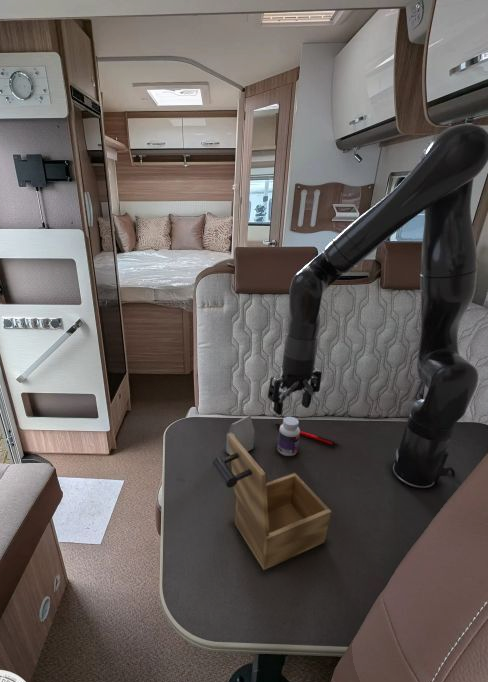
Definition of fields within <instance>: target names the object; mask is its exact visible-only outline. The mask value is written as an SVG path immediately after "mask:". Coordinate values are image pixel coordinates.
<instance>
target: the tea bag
mask: <svg viewBox="0 0 488 682" xmlns="http://www.w3.org/2000/svg"><path fill="white" fill-rule="evenodd" d="M229 433H232V434H233V435H234V437H235V438H236V439H237V440H238V441H239V442H240V444H241V445H242V446H243V447H244V448H245V450H246V451H247V452H248V453H249V452H250V451H251V450H253V449H254V444H255V443H254V442H255V428H254V424H253V420H252V416H251V415H250V414H249V415H247V416H245V417H243V418H241V419H239V420H237V421H235V422H233V423H231V424H230V428H229V429H228V431H227V433H226V445H225V453H226V454H228V455H230V449H229V441H228V434H229Z"/></svg>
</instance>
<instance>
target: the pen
mask: <svg viewBox="0 0 488 682" xmlns="http://www.w3.org/2000/svg"><path fill="white" fill-rule="evenodd" d="M274 425H275V426H277V427H279V428H280V426H281V425H282V423H274ZM300 435H302V436H305V437H307V438H310V439H314V440H317V441H319V442H323V443H325V444H328V445H332V446H337V447H339V443H335V441H334V440H332V439H329V438H325V437H322V436H319V435H314V434H311V433H308V432H305V431H303V430H300Z"/></svg>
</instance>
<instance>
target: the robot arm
mask: <svg viewBox="0 0 488 682" xmlns="http://www.w3.org/2000/svg"><path fill="white" fill-rule="evenodd" d="M487 164H488V130H486V129H485V128H483V126H480V125H478V124H474V123H461V124H460V123H459V124H456V125H452V126H449V127H447V128H444V129H443V130H441V131H439V132H438V133H436V134H435V135H434V136H433V137H432V138H430V139H429V140H428V142H427V143H426V145H425V146H424V148H423V150H422V152H421V155H420V158H419V162H418V163H417V164H416V165H415V167H413V169H412V170H411V171H410V172H409V173H408V175H406V176H405V178H403V180H402V181H401V182H400V183H399V184H397V185H396V187H394V188H393V189H392V191H390V192H389V193H387V195H385V196H384V197H383V198H382V199H380V201H378V202H376V203H375V204H374V205H373V206H371V207H370V208H369V209H367V211H365V212H364V213H362V214H361V215H360V216H358V217H357V218H356V219H355V220H353V222H351V223H349V225H348V226H347V227H346V228H344V229H343V230H342V231H341V232H340V233H339V234H338V235H337V236H336V237H334V239H333V240H331V241H330V242H329V243H328V245H327V246H325V249H324V250H323V251H322V252H320V253H319V254H318V255H317V256H316V257H314V258H313V259H312V260H311V261H309V263H307V264H305V266H304V267H302V268H301V269H300V270H299V271H297V272H296V274H295V275H294V276H292V277H293V278H292V279H291V282H290V287H289V293H288V295H289V296H288V299H289V300H288V304H289V309H288V310H289V317H288V322H287V323H288V324H287V332H286V337H285V341H284V348H283V356H282V364H281V368H282V374H281V376H280V377H275V376H271V377H270V378H269V379H270V381H269V386H268V392H267V398H268V399H269V400H270V401H271V402H272V403H273V412H275V414H276V415H277V416H281V415H283V407H284V401H285V400H286V398H288V397H290V395H291V394H292V393H295V392H297V391H303V392H302V398H301V406H302V407H304V408H305V409H308V408H310V405H311V403H312V397H313V396H314V394H315V393H319V392H320V390H321V383H322V374H323V372H322V371H320V370H319V369H318V368H316V367H315V365H316V358H317V352H318V344H319V342H318V341H319V339H318V338H319V332H320V325H321V314H320V312H321V311H320V310H321V305H322V299H323V294H324V292H325V291H326V290H327V289H328V288H329V287H331V285H333V284H334V283H335V282H336V281H337V280H338V279H340V277H342V275H344V274H347V273H349V272H350V271H351V270H353V269H354V268H355V267H357V266H358V265H359V264H361V262H363V261H364V260H365V259H366V258H368V256H370V255H371V254H372V253H373V252H374V251H376V250H377V249H378V248H379V247H380V246H381V245H382V244H384V243H385V242H386V241H387V240H388V239H389V238H391V237H392V236H393V235H395V233H397V232H398V231H399V230H400V229H401V228H403V227H404V226H405V225H407V224H408V223H409V222H411V220H413V219H414V218H416V217H417V216H418V215H420V214H421V213H423V212H424V223H423V231H422V232H423V233H422V241H421V254H420V270H419V273H420V275H419V276H420V278H419V279H420V280H419V283H420V284H419V285H420V288H419V289H420V290H419V291H420V294H419V295H420V340H419V347H418V354H417V360H416V361H417V362H416V372H417V375H418V378H419V380H420V381H421V382H422V383H423V384H424V385H425V387H427V392H426V394H425V397H424V398H420V399H417V400H415V401H414V402H413V403H412V405H411V408H410V412H409V415H408V418H407V421H406V423H405V424H406V425H405V428H404V431H403V435H402V438H401V441H400V444H399V447H398V448H396V451H395V456H396V457H395V460H394V463H393V466H392V473H393V475H394V476H395V477H396V479H397V480H398V481H399V482H401V483H403V484H405V485H407V486H408V487H411V488H415V489H420V490H426V489H430V488H432V487H433V486H434V484H438V483H439V480H440V478H441V477H447V476H448V474H449V471H450V472H451V476H452V477H453V478H454V477H456V471H455V470H454V468H453V467H451V466H449V465H448V464H446V461H447V459H448V456H449V454H450V452H449V450H448V446H449V444H450V441H451V439H452V435H453V433H454V430H455V427H456V425H457V422H458V421H459V420H461V418H462V417H463V416H464V415H465V414H466V411H467V409H468V408H469V405H470V403H471V400H472V399H473V397H474V394H475V392H476V389H477V387H478V384H479V373H478V370H477V368H476V367H475V365H473V364H471V363H470V362H469V361H468V360H467V359H465V358H464V357H463V356H462V355H460V352H459V343H458V342H459V341H458V340H459V327H460V323H461V321H462V319H463V317H464V315H465V314H466V312H467V310H468V309H469V307H470V306H471V303H472V302H473V299H474V297H475V294H476V293H475V292H476V287H477V276H478V251H477V250H478V249H477V244H476V237H475V232H474V227H473V220H472V213H471V212H472V211H471V206H472V194H473V187H474V179H475V178H476V177H478V175H479V174H480V173H481V172H482V171H483V170H484V169H485V167H486V165H487ZM309 381H310V382H309ZM285 389H286V390H285Z"/></svg>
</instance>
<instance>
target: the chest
mask: <svg viewBox="0 0 488 682" xmlns="http://www.w3.org/2000/svg"><path fill="white" fill-rule="evenodd" d="M266 488H267V505H268V522H269V536H268V537H265V536H264V535H263V533H262V532H261V530H260V529H259V527H258V526H257V524H256V523H255V521H254V520H253V519H252V517H251V516H250V514H249V513H248V511H247V510H246V508H245V507H244V505H243V504H242V503H241V501H240V500H239V498H238V497H237V495H236V494H235V511H234V512H235V514H234V515H235V516H234V525H235V527H236V528H237V530H238V531H239V533H240V535H241V537H242V538H243V539H244V542H245V543H246V544H247V546H248V548H249V549H250V551H251V552H252V554H253V556H254V557H255V559H256V560H257V562H258V564H259V566H260V567H261V569H262V571H265V570H267V569H269V568H272V567H275V566H276V565H279V564H280V563H283V562H285V561H287V560H289V559H291V558H294V557H296V556H298V555H300V554H302V553H305V552H307V551H309V550H311V549H313V548H315V547H318V546H320V545H322V544H325V542H326V538H327V534H328V530H329V529H328V528H329V524H330V520H331V515H332V510H331V509H330V508H329V507H328V506H327V505H326V504H325V503H324V502H323V501H322V500H321V499H320V498H319V497H318V495H317V494H316V493H315V492H314V491H313V490H312V489H311V488H310V487H309V486H308V484H306V483H305V482H304V481H303V479H301V478H300V476H299V475H298V474H297V473H296V472H293V473H291V474H287V475H285V476H282V477H280V478H276V479H274V480H270V481H268V482H266Z"/></svg>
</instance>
